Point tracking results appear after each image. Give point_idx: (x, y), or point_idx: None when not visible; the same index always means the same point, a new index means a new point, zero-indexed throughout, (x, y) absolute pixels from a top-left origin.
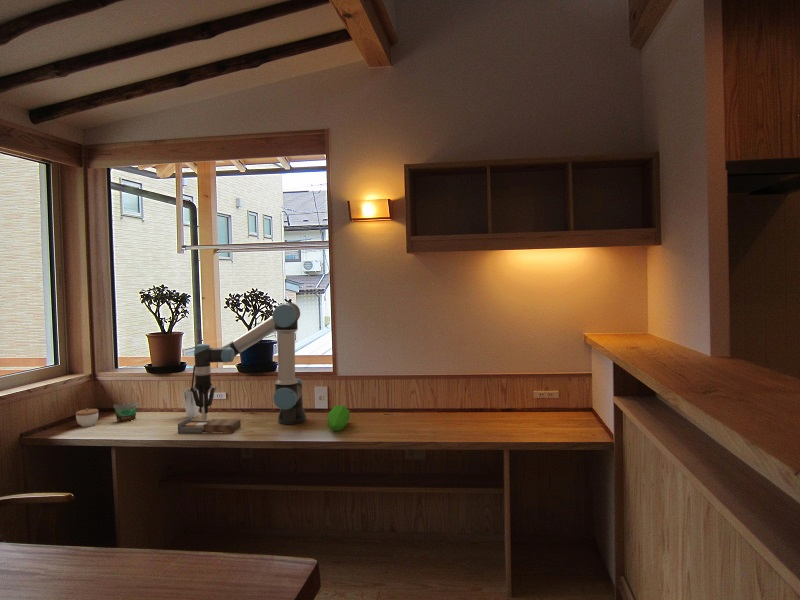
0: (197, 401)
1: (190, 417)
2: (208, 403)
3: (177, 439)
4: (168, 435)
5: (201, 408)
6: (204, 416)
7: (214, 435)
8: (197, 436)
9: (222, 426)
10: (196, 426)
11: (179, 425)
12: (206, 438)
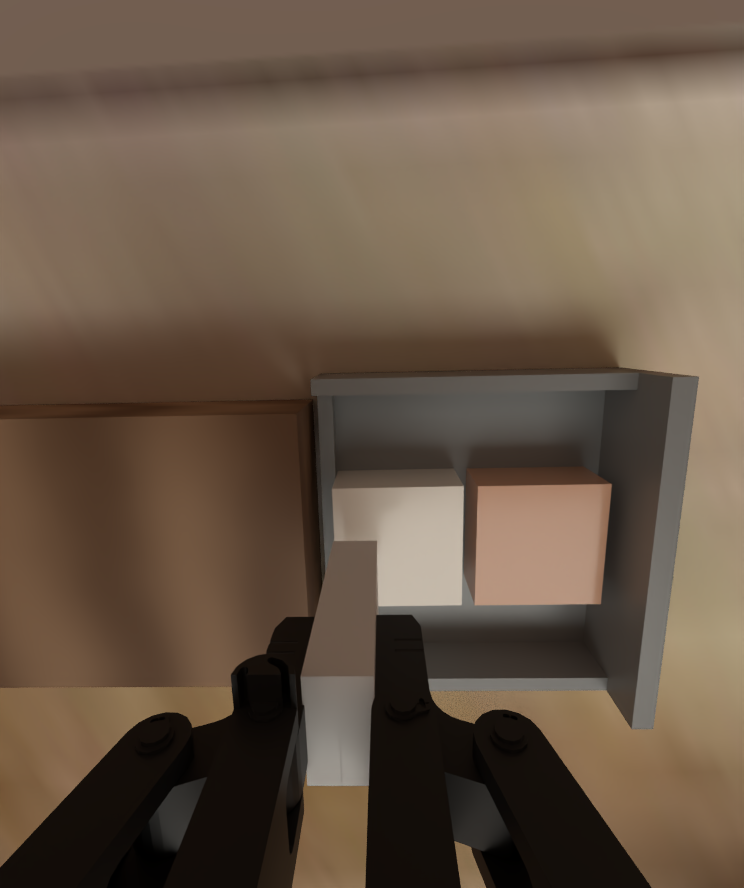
0: (530, 859)
1: (634, 702)
2: (134, 779)
3: (512, 102)
4: (705, 275)
5: (373, 661)
6: (328, 569)
7: (130, 305)
8: (316, 252)
9: (29, 415)
10: (439, 481)
11: (653, 380)
12: (158, 171)
